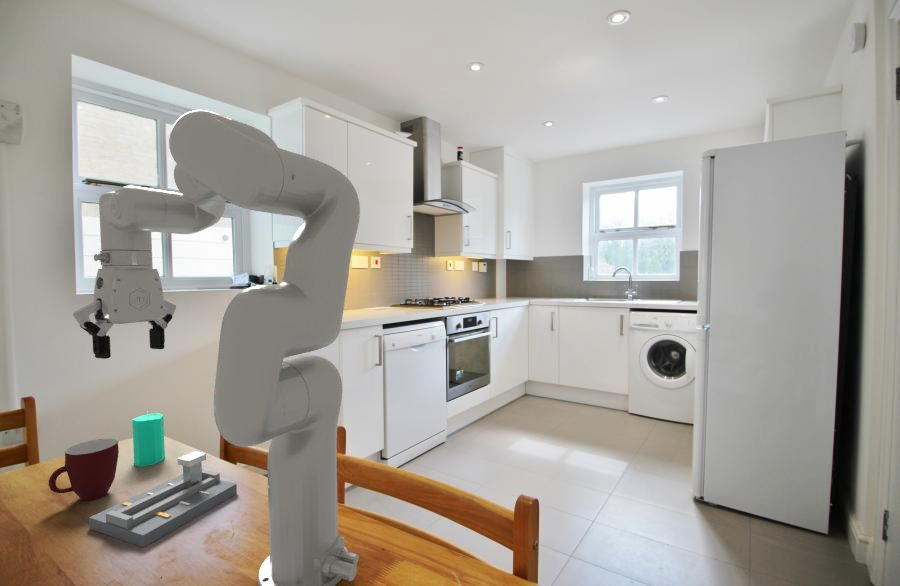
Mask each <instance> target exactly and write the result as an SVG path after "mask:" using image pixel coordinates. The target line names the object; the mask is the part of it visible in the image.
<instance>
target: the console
mask: <svg viewBox="0 0 900 586" xmlns="http://www.w3.org/2000/svg"><path fill="white" fill-rule="evenodd" d="M220 475H221V474H220V473H219V472H216V471H210V470H207V469H203V468H202V482H200V483H198V484H196V485H194V486H192V487H190V488H184V483H183V473H181V475H178V476H176V477H174V478H172V479H170V480H167V481H165V482H163V483H161V484H159V485H157V486H154V487H152V488H149V489H147V490H146V491H143V492H141V493H138V494H136V495H135V496H132V497H131V498H128V499H126V500H124V501H122V502H120V503H117V504H115V505H113V506H111V507H109V508H107V509H105V510H102V511H100V512H98V513H96V514H93V515H92V516H89V517H88V523H89V525H88V526H89V527H88V528H89V530H92V531H95V532H98V533H101V534H104V535H107V536H109V537H112V538H114V539H118V540H120V541H124V542H127V543H129V544H132V545H134V546H135V545H136V546H139V547H141V548H145V547H147V546H148V545H150V544H152V543H154V542H156V541H157V540H158V539H161V538H162V537H164V536H166V535H168V534H170V533H171V532H173V531H174V530H176V529H179V528H180V527H181V526H183V525H185V524H187V523H189V522H190V521H192V520H193V519H196V518H197V517H199V516H200V515H203V514H204V513H206V512H207V511H209V510H212V508H214V507H216V506H218V505H221V504H222V503H223V502H225V501H226V500H228V499H230V498H232V497H233V496H235V495H236V494H238V492H237V491H238V490H237V489H238V487H237V483H235V482H230V481H227V480H222V479H221V476H220Z"/></svg>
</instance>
